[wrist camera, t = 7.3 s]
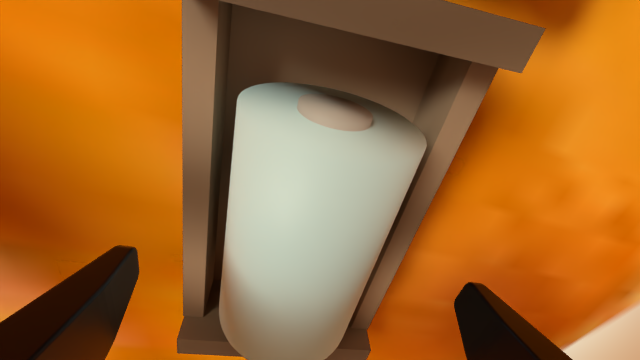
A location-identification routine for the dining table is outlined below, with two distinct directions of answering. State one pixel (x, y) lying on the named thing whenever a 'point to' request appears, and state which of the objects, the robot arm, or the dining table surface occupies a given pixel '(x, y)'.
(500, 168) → the dining table surface
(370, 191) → the roll
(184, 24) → the tray
